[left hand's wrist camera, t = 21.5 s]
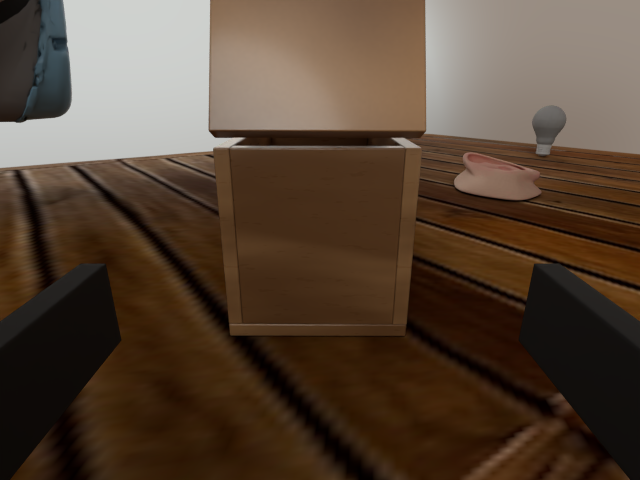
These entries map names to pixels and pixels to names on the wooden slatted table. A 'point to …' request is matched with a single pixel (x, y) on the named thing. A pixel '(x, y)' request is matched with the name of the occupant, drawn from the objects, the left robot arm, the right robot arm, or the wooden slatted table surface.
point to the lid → (317, 69)
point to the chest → (317, 234)
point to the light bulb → (547, 127)
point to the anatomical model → (496, 178)
